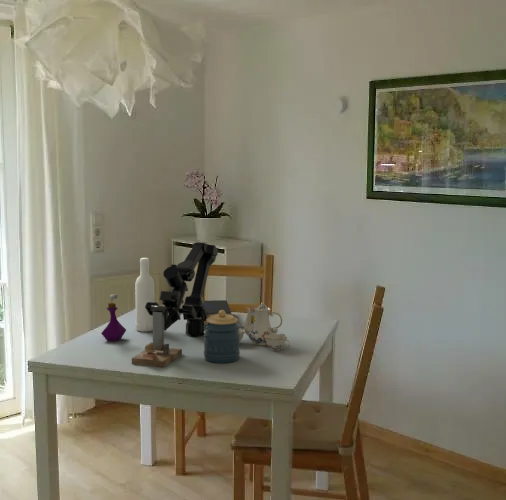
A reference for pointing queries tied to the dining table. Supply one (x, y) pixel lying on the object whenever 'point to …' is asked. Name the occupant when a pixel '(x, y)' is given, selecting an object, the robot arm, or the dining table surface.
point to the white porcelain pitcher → (251, 318)
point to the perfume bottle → (113, 324)
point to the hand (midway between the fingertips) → (164, 330)
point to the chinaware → (263, 329)
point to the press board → (159, 358)
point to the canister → (221, 338)
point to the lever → (158, 326)
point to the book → (216, 307)
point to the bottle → (144, 297)
